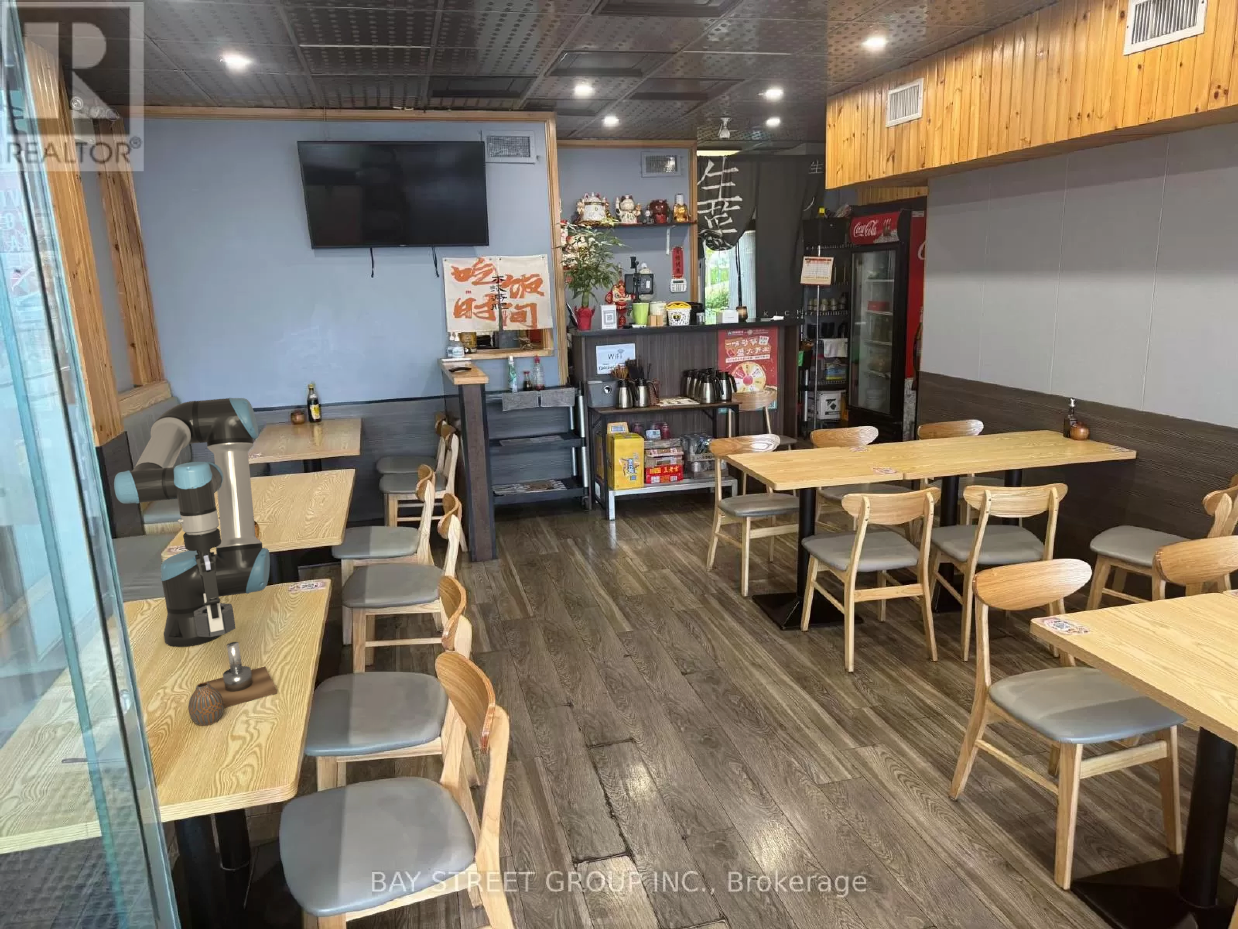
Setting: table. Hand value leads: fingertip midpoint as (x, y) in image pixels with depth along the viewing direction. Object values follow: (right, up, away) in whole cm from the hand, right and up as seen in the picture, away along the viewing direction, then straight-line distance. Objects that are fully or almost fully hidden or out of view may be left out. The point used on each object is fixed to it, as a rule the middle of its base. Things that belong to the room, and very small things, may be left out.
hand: (215, 624), depth 194 cm
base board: (+5, -16, +2) cm, 17 cm away
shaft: (+5, -15, +2) cm, 16 cm away
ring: (0, -1, 0) cm, 1 cm away
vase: (+4, -19, -11) cm, 23 cm away
